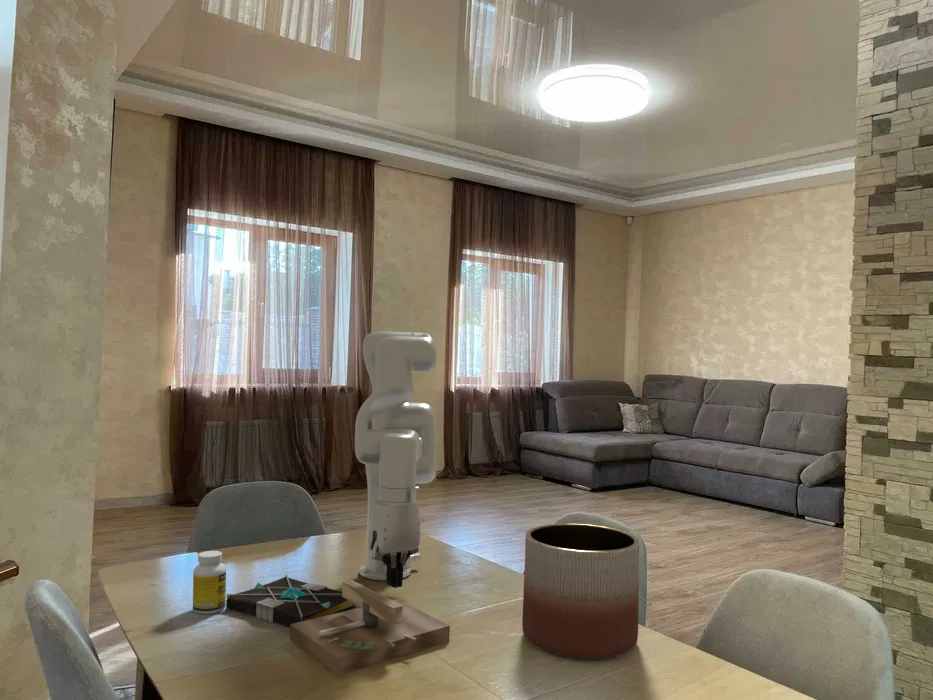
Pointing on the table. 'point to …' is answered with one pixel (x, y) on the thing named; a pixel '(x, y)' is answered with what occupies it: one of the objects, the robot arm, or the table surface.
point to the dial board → (367, 638)
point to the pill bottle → (209, 583)
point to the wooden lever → (368, 607)
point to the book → (288, 601)
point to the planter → (581, 590)
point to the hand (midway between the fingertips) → (394, 585)
